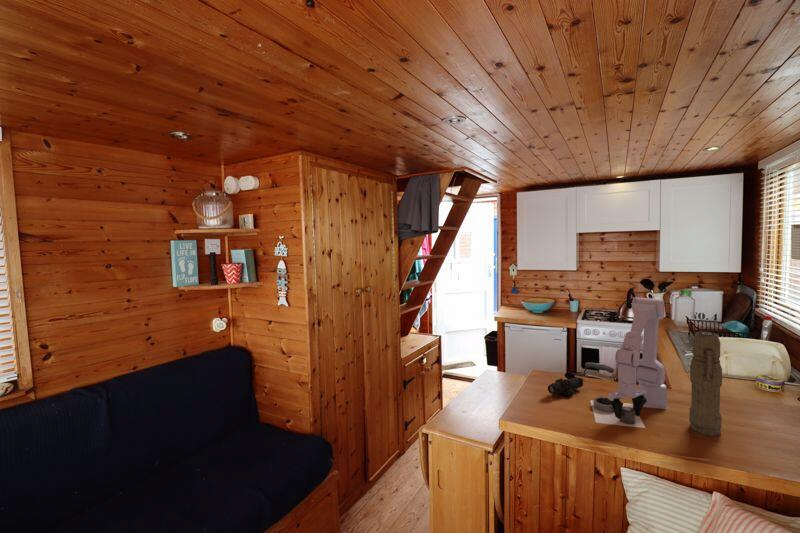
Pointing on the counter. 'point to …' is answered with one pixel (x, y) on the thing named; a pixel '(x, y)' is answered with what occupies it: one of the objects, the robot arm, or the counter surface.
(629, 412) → the cap
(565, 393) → the night vision scope
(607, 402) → the grey bowl
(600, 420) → the mat
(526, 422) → the counter surface
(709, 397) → the brown tall rounded block
